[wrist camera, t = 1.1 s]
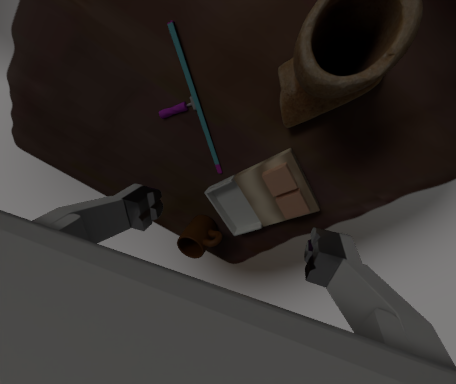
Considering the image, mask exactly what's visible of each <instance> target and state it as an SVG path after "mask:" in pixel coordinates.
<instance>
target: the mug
mask: <svg viewBox="0 0 456 384" xmlns="http://www.w3.org/2000/svg"><path fill="white" fill-rule="evenodd" d="M214 237H216V238H215V239H213V240H212V238H214ZM221 241H222V234H221V232H219V231H216V224H215V222H214V221H213V220H212V219H211V218H210V217H208V216H205V215H198V216H196V217H195V218H194V219H193V220H192V221H191V222H190V224H189V225H188V226H187V227H186V229H185V230H184V231H183V233H182V234H181V235H180V237H179V239H178V241H177V245H178V248H179V249H180V251H181V252H182V253H183V254H185V255H186V256H188V257H191V258H199V257H201V256H202V255H203V254H204V252H205V251H206V249H207V248H208V247H214V246H217V245H218V244H219V243H220V242H221Z"/></svg>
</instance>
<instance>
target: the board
mask: <svg viewBox="0 0 456 384" xmlns="http://www.w3.org/2000/svg"><path fill="white" fill-rule="evenodd" d="M285 162H287V164H288V166H289V168H290V170H291V172H292V174H293V176H294V178H295V180H296V182H297V188H300V189H301V191H302V193H303V195H304V197H305V199H306V201H307V203H308V205H309V207H310V213H313V212H317V211H320V208H319V204H318V202H317V200H316V198H315V196H314V193H313V191H312V189H311V187H310V185H309V183H308V181H307V179H306V177H305V175H304V173H303V171H302V169H301V167H300V165H299V163H298V161H297V159H296V157H295V155H294V153H293V151H292V149H291V148H289V149H287V150H285V151H283V152H281V153H279V154H277V155H275V156H273V157H271V158H269V159H267V160H265V161H262V162H260V163H258V164H256V165H254V166H252V167H250V168H248V169H246V170H244V171H242V172H240V173H237V174H236V176H235V177H234V180H235V181H236V183H237V185H238V186H239V188H240V189H241V191H242V193H243V194H244V196H245V198H246V199H247V201H248V202H249V204H250V206H251V207H252V209H253V210H254V212H255V214H256V215H257V217H258V219H259V220H260V222H261V223H262V225H263V227H264V226H268V225H271V224H275V223H278V222H282V221H285V220H289V219H286V218H285V217H284V215H283V213H282V211H281V210H280V208H279V206H278V204H277V203H276V196H274V197H273V195H272V194H271V192H270V190H269V188H268V187H267V185H266V183H265V181H264V180H263V178H262V174H263V172H265V171H267V170H270V169H272V168H274V167H276V166H278V165H281V164H283V163H285ZM297 188H296V189H297ZM293 190H294V189H293ZM285 193H286V192H285ZM282 194H283V193H282ZM310 213H307V214H310ZM304 215H306V214H304ZM300 216H303V215H300ZM297 217H299V216H297ZM293 218H296V217H293ZM290 219H292V218H290Z"/></svg>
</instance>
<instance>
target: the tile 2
mask: <svg viewBox="0 0 456 384" xmlns="http://www.w3.org/2000/svg"><path fill="white" fill-rule="evenodd" d="M276 203H277V204H278V206H279V208H280V210H281V211H282V213H283V215H284V217H285V218H286V219H290V218H293V217H297V216H300V215H304V214H307V213H310V207H309V205H308V203H307V201H306V199H305V197H304V195H303V193H302V191H301V189H300V188H297V189H294V190H291V191H288V192H286V193H283V194H280V195H277V196H276Z"/></svg>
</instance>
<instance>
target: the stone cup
mask: <svg viewBox="0 0 456 384" xmlns="http://www.w3.org/2000/svg"><path fill="white" fill-rule="evenodd" d="M422 12H423V3H422V0H318V1H317V2H316V4H315V5H314V7H313V8H312V10H311V11H310V13H309V14H308V16H307V17H306V19H305V21H304V23H303V25H302V28H301V30H300V32H299V35H298V38H297V41H296V44H295V49H294V57H293V58H292V59H291V60H289V61H287V62H285V63H284V64H282V65H281V66H280V67H279V69H278V75H279V80H280V86H281V93H280V108H281V115H282V119H283V124H284V126H285V127H286V128H290V127H292V126H295V125H297V124H300V123H303V122H305V121H308V120H310V119H312V118H314V117H317V116H319V115H320V114H323V113H326V112H328V111H330V110H333V109H335V108H337V107H339V106H341V105H344V104H346V103H348V102H350V101H352V100H354V99H356V98H358V97H360V96H362V95H363V94H365V93H367V92H368V91H370V90H371V89H373V88H374V87H375V86H376V85H378V84H379V83H380V81H381V80H382V77H383V76H384V75H385V74H386V73H387V72H389V71H390V70H391V69H392V68H393V67H394V66H395V65H396V64H397V62H398V61H399V60H400V59H401V58H402V57H403V55H404V54H405V53H406V52H407V50H408V48H409V47H410V45H411V44H412V42H413V40H414V38H415V36H416V35H417V32H418V29H419V25H420V22H421V19H422Z"/></svg>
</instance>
